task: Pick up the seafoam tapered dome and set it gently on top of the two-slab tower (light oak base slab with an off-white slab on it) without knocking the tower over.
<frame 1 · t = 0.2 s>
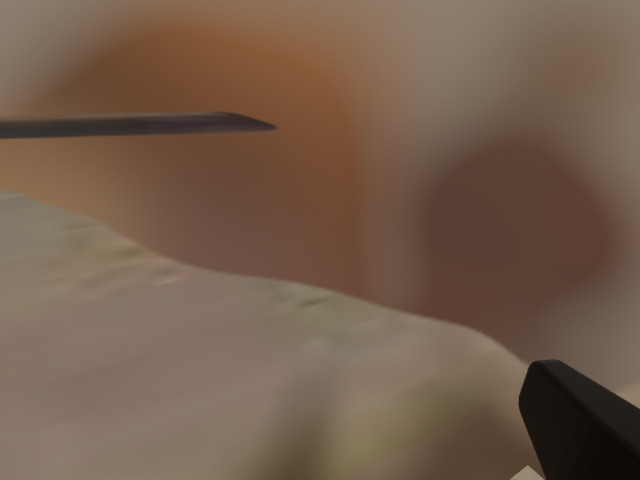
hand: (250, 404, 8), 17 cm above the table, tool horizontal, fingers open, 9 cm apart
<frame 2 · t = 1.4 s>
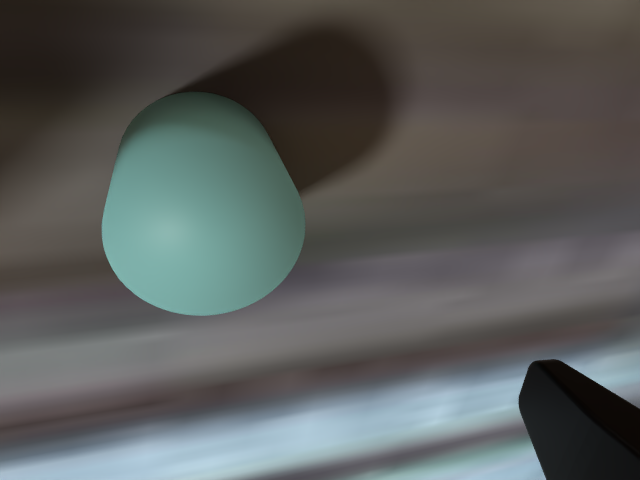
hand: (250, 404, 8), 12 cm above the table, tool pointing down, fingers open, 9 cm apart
seafoam tapered dome: (199, 169, 19), on the table
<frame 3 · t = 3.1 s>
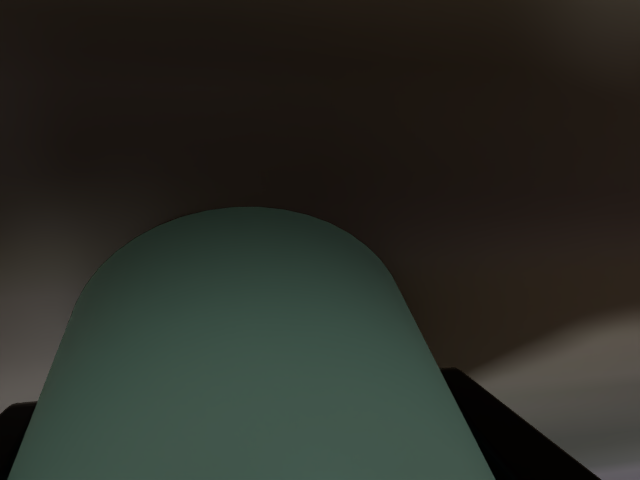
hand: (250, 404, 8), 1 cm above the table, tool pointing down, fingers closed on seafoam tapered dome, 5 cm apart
seafoam tapered dome: (246, 355, 9), on the table, touching gripper
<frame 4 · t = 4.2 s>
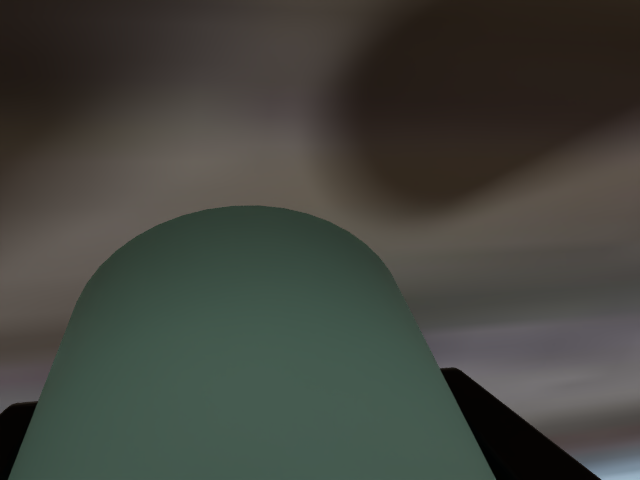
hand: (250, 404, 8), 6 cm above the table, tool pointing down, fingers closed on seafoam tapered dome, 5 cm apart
seafoam tapered dome: (246, 354, 9), point 5 cm above the table, touching gripper
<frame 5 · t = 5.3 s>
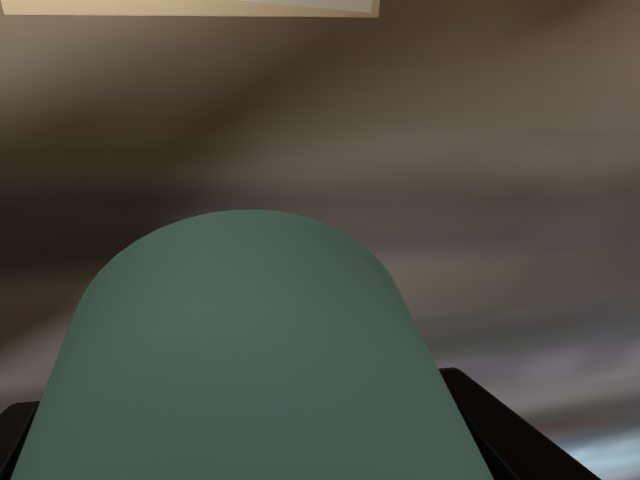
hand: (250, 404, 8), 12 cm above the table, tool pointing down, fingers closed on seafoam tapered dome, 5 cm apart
seafoam tapered dome: (246, 357, 9), point 11 cm above the table, touching gripper
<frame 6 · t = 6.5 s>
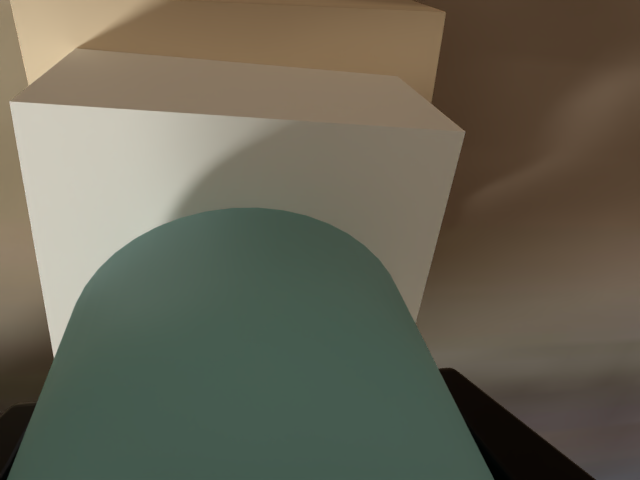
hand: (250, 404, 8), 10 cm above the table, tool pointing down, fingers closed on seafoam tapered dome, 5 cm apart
seafoam tapered dome: (245, 356, 9), point 9 cm above the table, touching gripper
oak base slab: (240, 144, 17), on the table, touching white upper slab
white upper slab: (239, 205, 13), point 4 cm above the table, touching oak base slab
when the fingers open (10 cm above the table, at t = 6.7 s): seafoam tapered dome drops 1 cm, resting on white upper slab.
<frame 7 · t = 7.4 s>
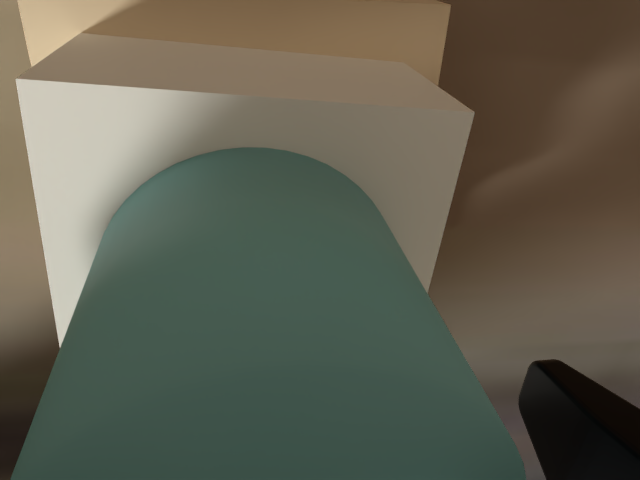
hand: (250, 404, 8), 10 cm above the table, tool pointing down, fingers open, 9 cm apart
seafoam tapered dome: (252, 287, 10), point 7 cm above the table, touching white upper slab
oak base slab: (244, 139, 17), on the table, touching white upper slab
white upper slab: (244, 194, 13), point 3 cm above the table, touching oak base slab, seafoam tapered dome
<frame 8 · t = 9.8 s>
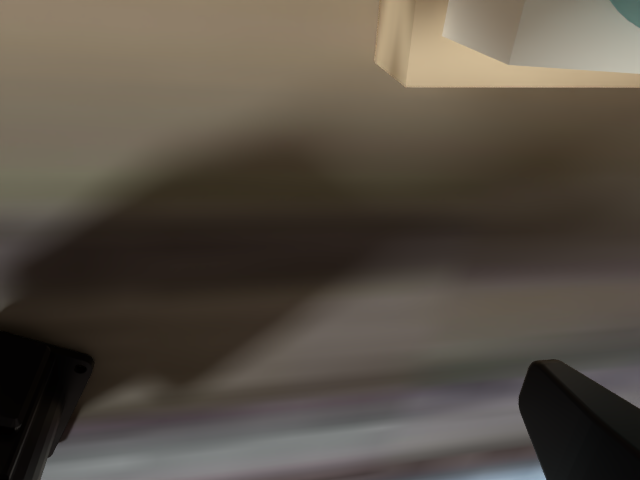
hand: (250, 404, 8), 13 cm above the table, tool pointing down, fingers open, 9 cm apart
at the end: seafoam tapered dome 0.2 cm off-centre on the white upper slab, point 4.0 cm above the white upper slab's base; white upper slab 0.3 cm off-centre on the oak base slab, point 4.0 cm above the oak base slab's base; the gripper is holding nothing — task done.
